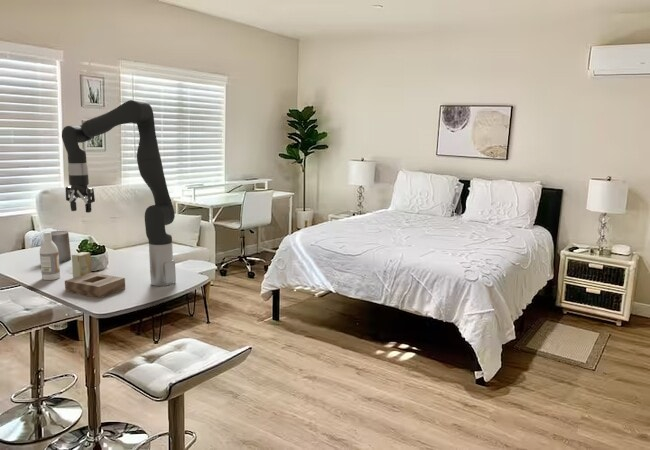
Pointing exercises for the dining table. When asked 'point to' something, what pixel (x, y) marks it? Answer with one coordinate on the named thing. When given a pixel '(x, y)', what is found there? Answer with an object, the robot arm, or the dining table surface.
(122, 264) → the dining table surface
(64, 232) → the pillar candle
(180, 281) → the dining table surface
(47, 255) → the bath foam
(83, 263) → the skincare box
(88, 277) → the walnut holder block
